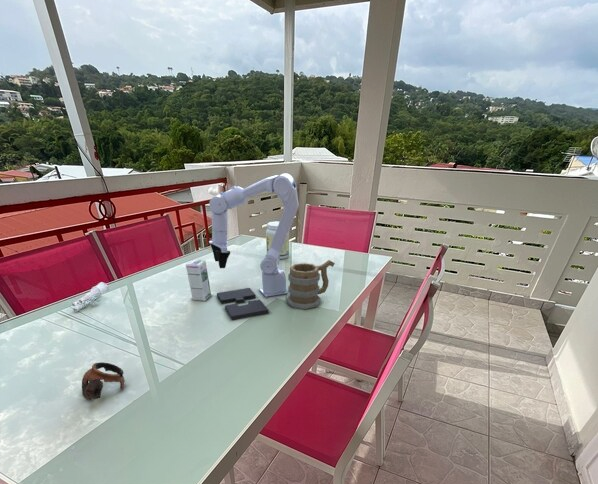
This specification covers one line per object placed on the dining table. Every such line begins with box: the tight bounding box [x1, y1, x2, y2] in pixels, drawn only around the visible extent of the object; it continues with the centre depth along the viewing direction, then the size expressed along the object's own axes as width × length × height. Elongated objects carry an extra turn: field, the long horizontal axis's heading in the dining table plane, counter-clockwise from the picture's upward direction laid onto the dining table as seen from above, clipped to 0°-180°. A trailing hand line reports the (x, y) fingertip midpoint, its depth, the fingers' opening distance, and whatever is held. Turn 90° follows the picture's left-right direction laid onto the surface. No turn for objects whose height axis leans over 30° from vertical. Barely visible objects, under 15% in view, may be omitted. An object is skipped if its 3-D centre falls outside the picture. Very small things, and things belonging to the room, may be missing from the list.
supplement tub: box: [265, 220, 290, 260], centre depth 175 cm, size 12×12×17 cm
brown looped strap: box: [81, 361, 126, 401], centre depth 83 cm, size 12×10×8 cm
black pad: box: [216, 287, 257, 305], centre depth 134 cm, size 14×10×2 cm
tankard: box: [286, 259, 335, 310], centre depth 129 cm, size 20×13×15 cm, turn 117°
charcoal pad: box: [224, 299, 269, 321], centre depth 124 cm, size 14×10×2 cm
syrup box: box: [185, 259, 212, 302], centre depth 130 cm, size 6×6×14 cm
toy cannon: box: [71, 281, 110, 313], centre depth 126 cm, size 8×14×5 cm
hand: (220, 264), depth 135 cm, fingers open, 7 cm apart
